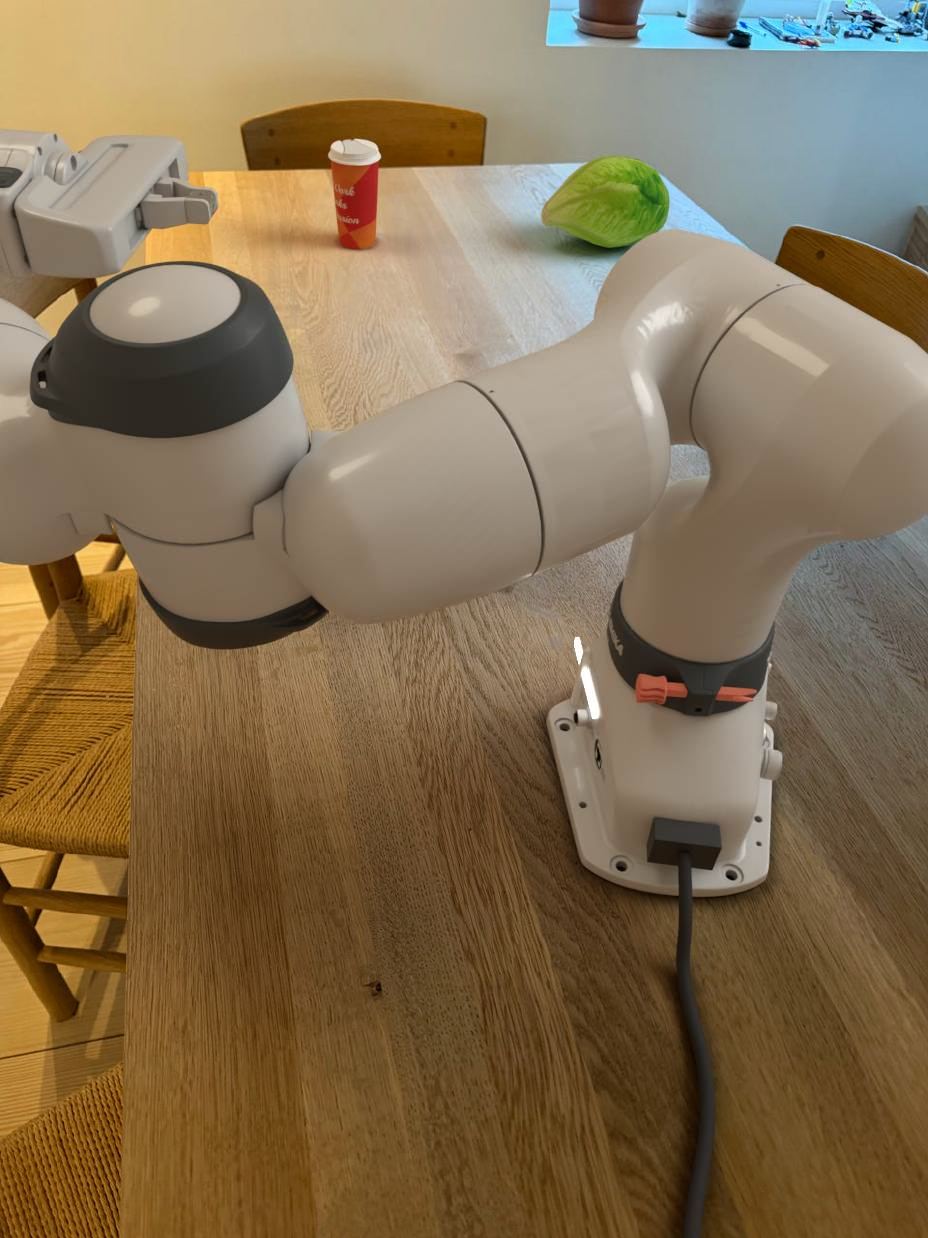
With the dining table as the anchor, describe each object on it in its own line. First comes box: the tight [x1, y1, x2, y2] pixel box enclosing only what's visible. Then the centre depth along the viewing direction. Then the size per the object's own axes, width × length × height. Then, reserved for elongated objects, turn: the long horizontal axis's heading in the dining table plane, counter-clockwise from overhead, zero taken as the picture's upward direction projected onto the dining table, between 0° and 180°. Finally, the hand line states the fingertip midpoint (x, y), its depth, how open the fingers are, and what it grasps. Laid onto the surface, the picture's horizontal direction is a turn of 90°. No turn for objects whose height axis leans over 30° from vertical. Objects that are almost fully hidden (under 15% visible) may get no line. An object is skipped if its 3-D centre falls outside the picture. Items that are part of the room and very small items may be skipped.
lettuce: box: [540, 155, 670, 249], centre depth 147 cm, size 15×20×14 cm
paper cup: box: [327, 138, 382, 250], centre depth 143 cm, size 8×8×14 cm
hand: (213, 206), depth 75 cm, fingers closed
